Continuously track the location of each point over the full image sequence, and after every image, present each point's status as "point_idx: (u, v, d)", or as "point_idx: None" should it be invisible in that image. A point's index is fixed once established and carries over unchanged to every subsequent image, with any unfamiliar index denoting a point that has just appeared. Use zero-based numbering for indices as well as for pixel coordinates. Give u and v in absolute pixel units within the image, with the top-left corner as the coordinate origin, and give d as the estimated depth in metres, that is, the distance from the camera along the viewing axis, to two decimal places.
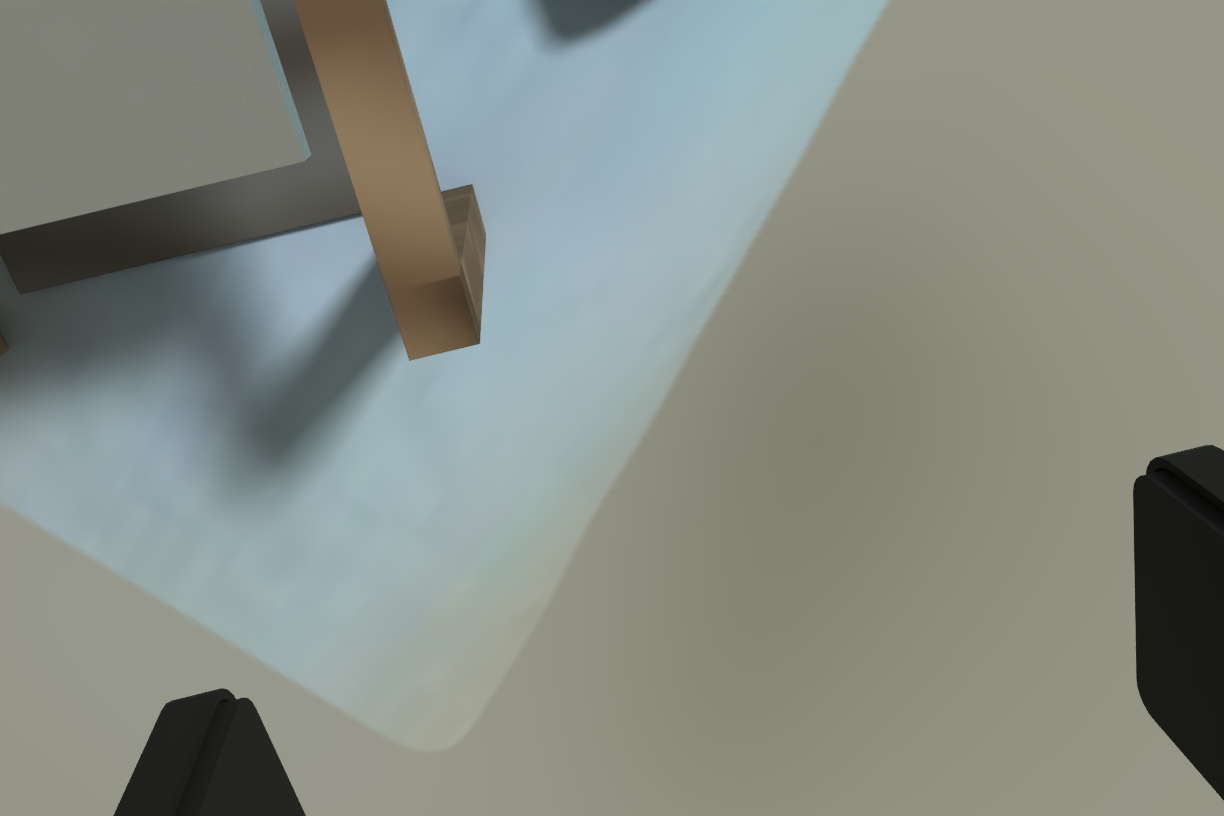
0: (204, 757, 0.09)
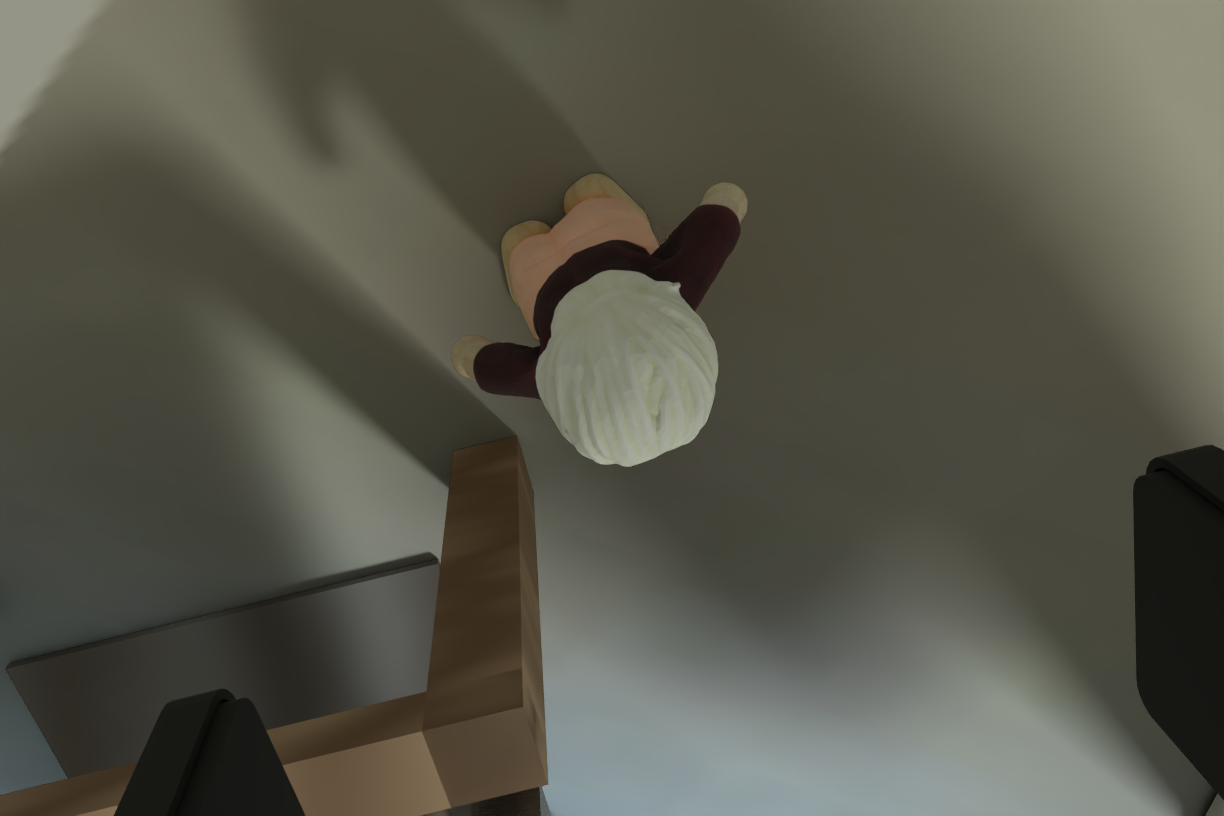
0: (204, 757, 0.09)
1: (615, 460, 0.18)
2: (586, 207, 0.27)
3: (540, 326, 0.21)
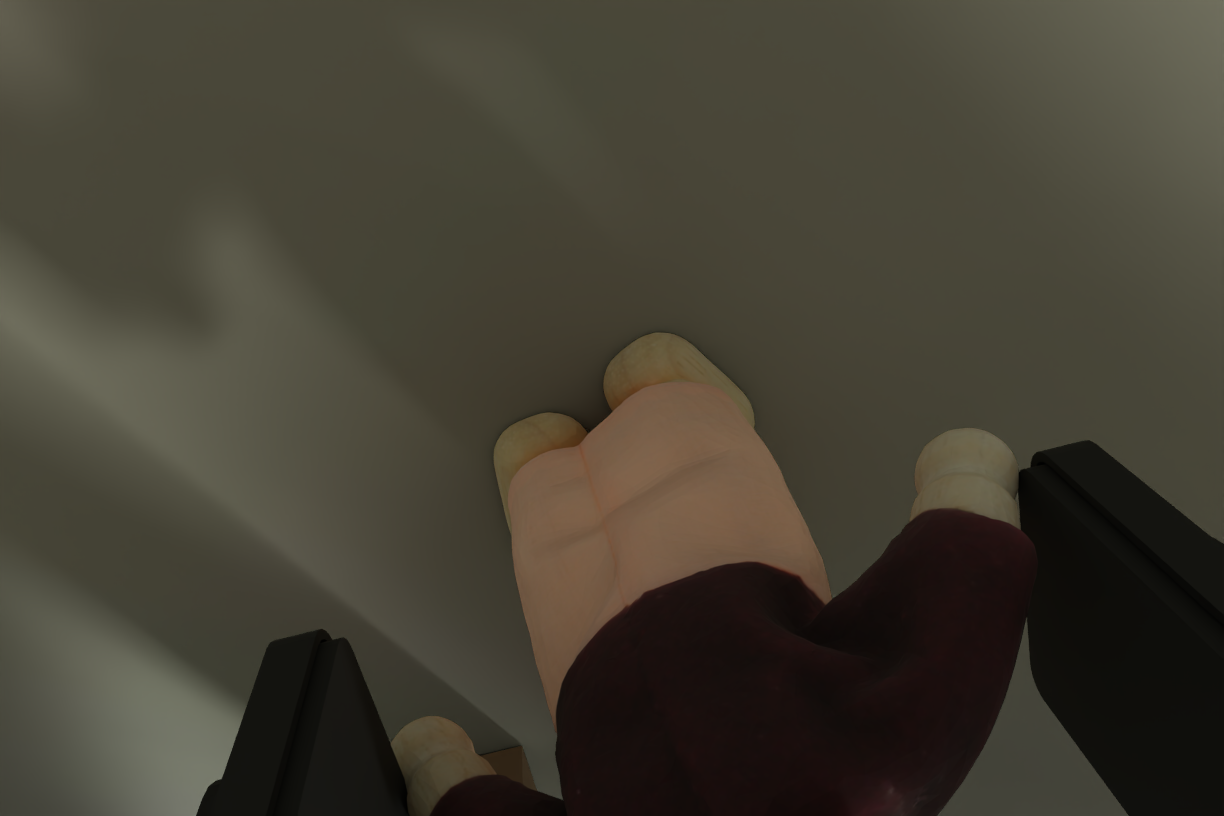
0: (314, 688, 0.10)
1: None
2: (648, 409, 0.15)
3: None
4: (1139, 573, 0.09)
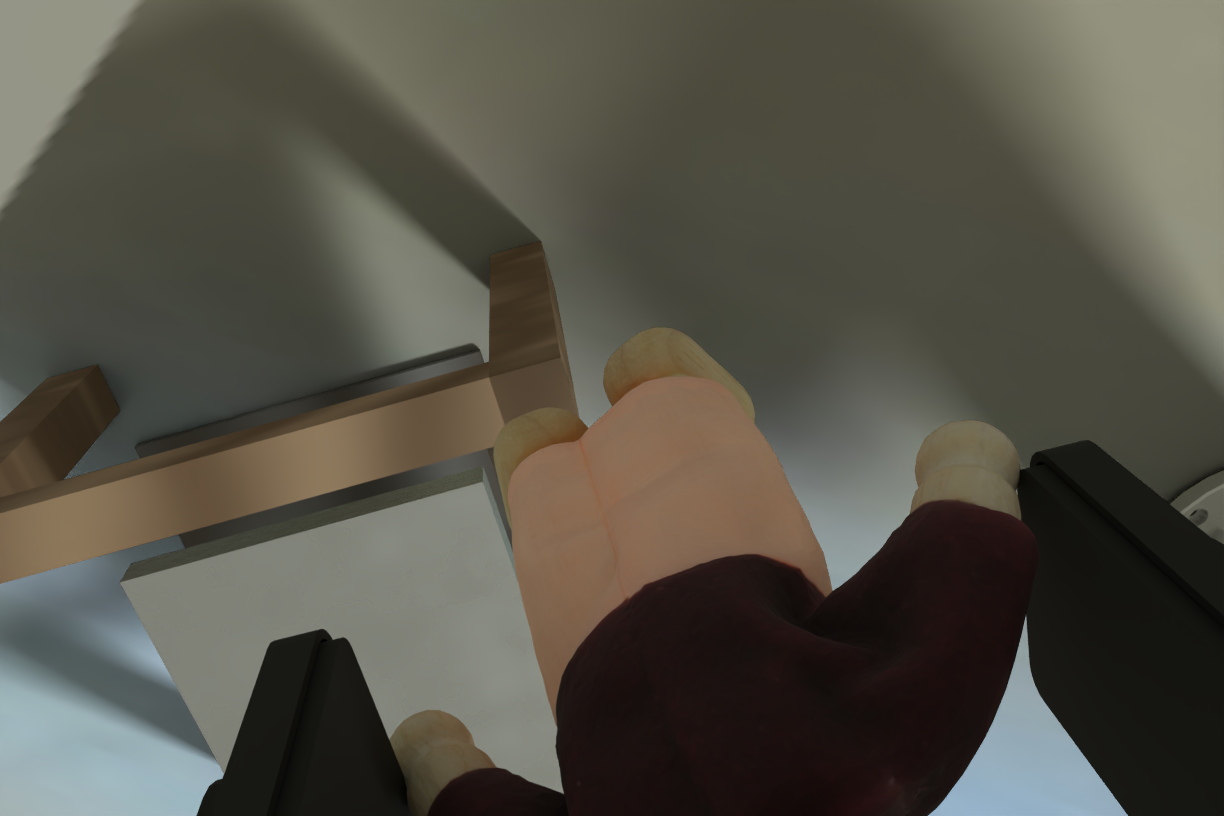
0: (314, 688, 0.10)
1: None
2: (649, 403, 0.15)
3: None
4: (1138, 573, 0.09)
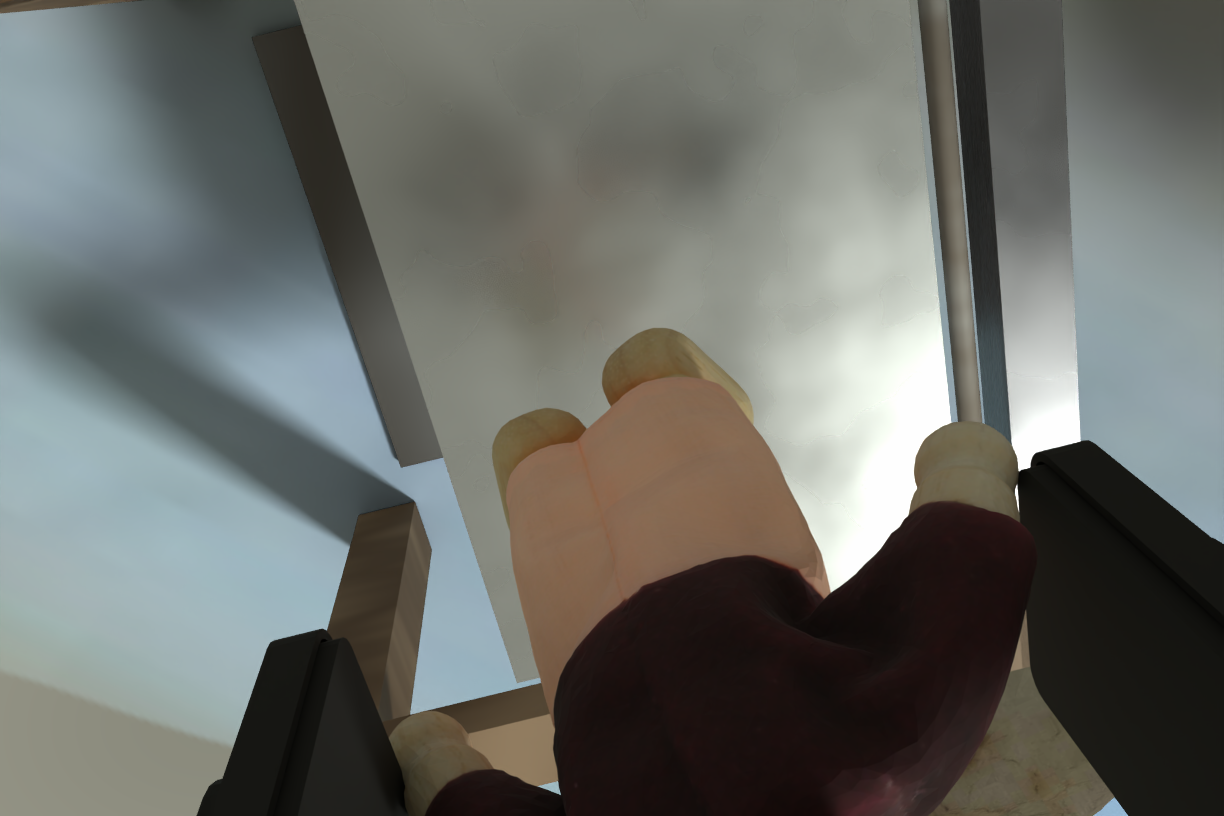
0: (314, 688, 0.10)
1: None
2: (647, 403, 0.15)
3: None
4: (1138, 573, 0.09)
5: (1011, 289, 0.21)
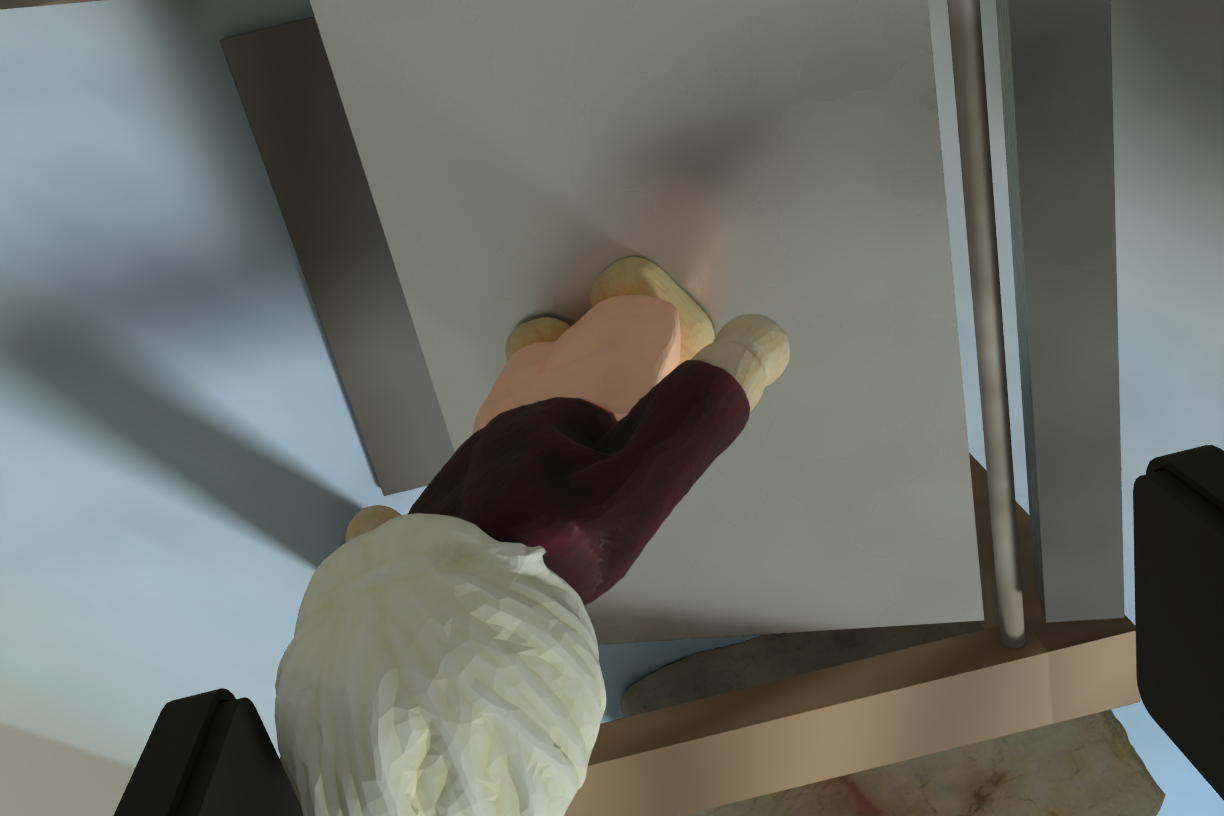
0: (204, 757, 0.09)
1: None
2: (601, 311, 0.19)
3: None
4: None
5: (1040, 326, 0.19)
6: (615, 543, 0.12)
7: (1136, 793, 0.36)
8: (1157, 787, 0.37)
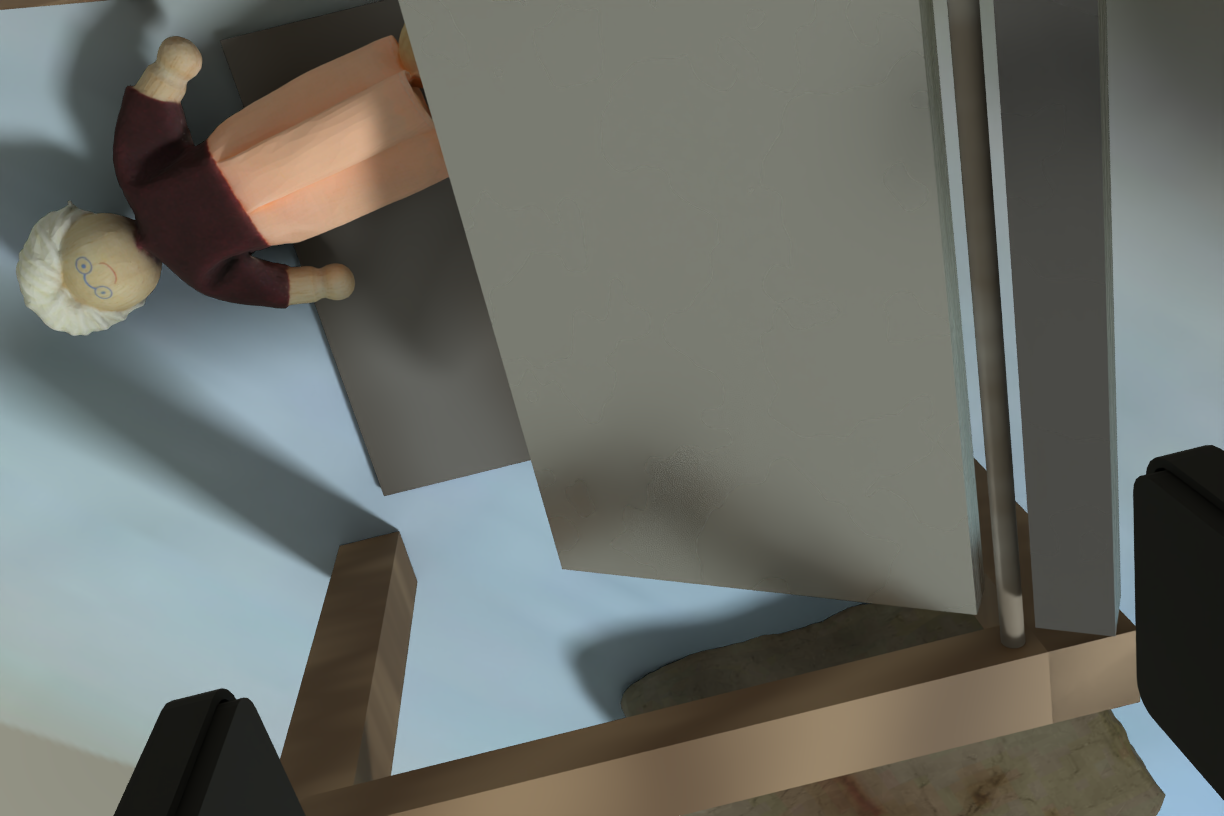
0: (204, 757, 0.09)
1: None
2: None
3: None
4: None
5: (1029, 333, 0.19)
6: None
7: (1136, 793, 0.36)
8: (1157, 787, 0.37)
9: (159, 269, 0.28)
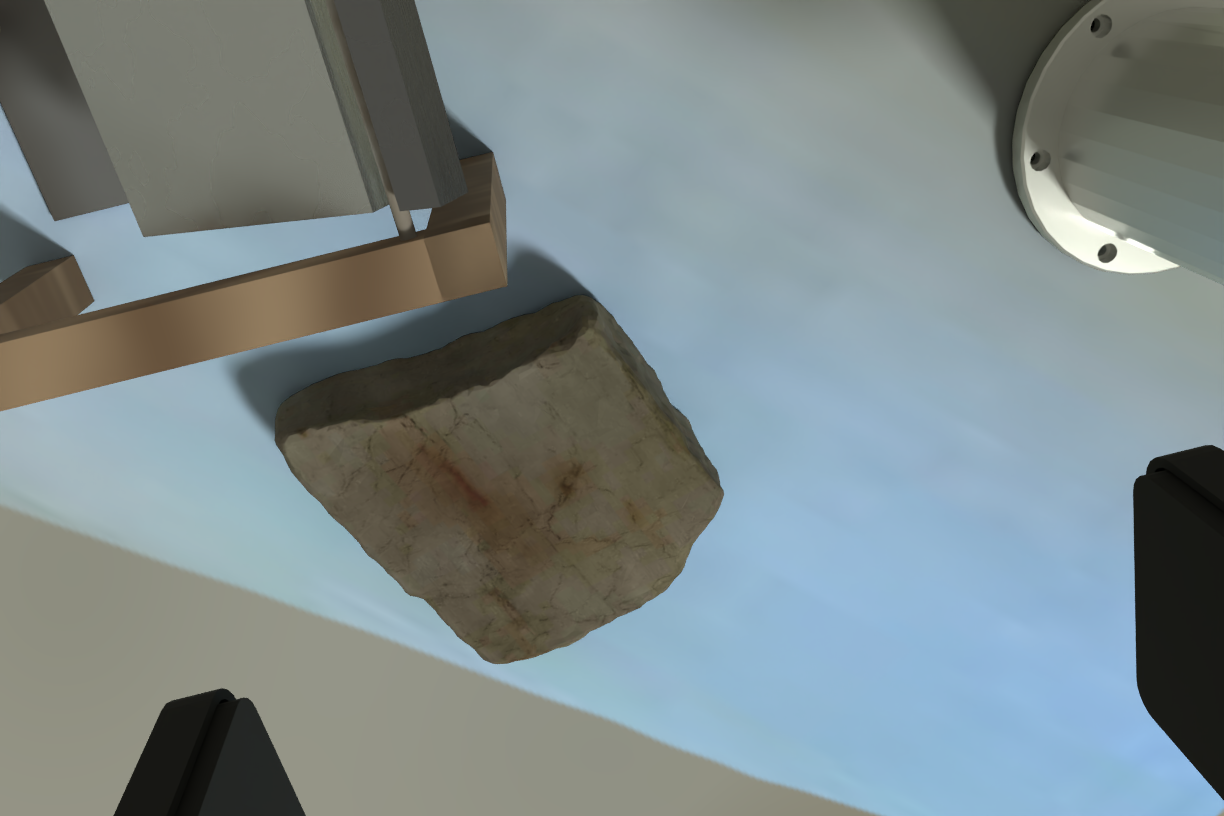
0: (204, 757, 0.09)
1: None
2: None
3: None
4: None
5: None
6: None
7: (695, 486, 0.45)
8: (713, 481, 0.45)
9: None
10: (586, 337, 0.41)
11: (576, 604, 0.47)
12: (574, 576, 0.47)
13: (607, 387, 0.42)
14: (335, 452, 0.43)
